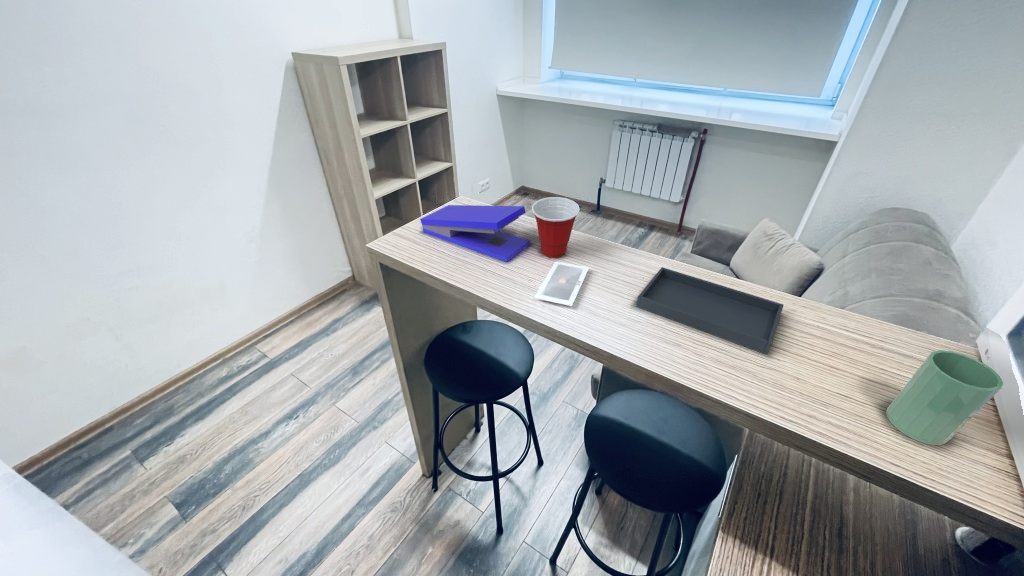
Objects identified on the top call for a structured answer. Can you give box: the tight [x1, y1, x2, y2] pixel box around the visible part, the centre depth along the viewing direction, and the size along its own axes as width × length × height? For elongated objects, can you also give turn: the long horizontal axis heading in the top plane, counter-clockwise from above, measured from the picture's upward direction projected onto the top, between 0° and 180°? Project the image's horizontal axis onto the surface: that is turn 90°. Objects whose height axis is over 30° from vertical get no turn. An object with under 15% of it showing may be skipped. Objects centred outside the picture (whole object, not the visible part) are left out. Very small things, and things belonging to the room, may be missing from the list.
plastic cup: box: [531, 196, 581, 259], centre depth 95 cm, size 11×11×12 cm
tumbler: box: [885, 349, 1004, 446], centre depth 54 cm, size 7×7×11 cm
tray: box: [635, 266, 784, 355], centre depth 78 cm, size 23×13×2 cm, turn 54°
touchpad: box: [533, 260, 590, 307], centre depth 86 cm, size 8×15×2 cm, turn 158°
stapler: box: [420, 204, 531, 263], centre depth 102 cm, size 12×28×10 cm, turn 55°
